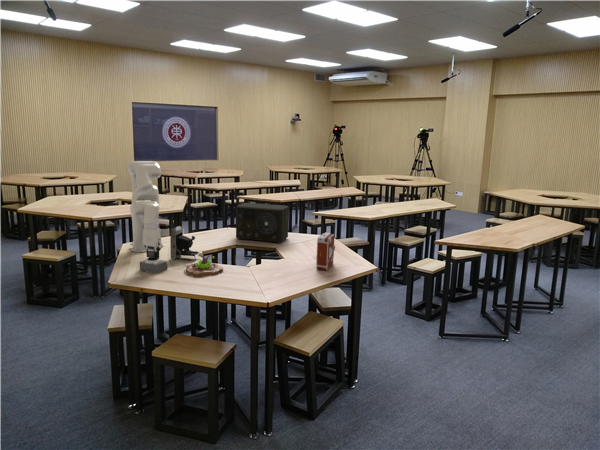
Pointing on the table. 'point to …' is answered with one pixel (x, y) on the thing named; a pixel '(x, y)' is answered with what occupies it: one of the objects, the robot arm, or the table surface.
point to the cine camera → (325, 251)
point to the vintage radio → (262, 222)
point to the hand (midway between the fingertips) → (153, 257)
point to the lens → (151, 253)
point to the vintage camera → (180, 244)
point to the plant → (203, 268)
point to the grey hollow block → (153, 265)
